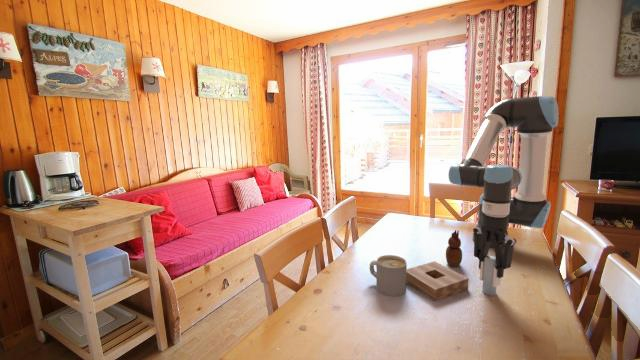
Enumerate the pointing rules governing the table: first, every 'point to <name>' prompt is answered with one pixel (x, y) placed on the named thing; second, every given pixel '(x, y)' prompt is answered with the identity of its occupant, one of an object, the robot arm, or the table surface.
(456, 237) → the wooden figurine
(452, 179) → the robot arm
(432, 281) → the bore block
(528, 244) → the table surface
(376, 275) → the coffee mug
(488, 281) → the peg
